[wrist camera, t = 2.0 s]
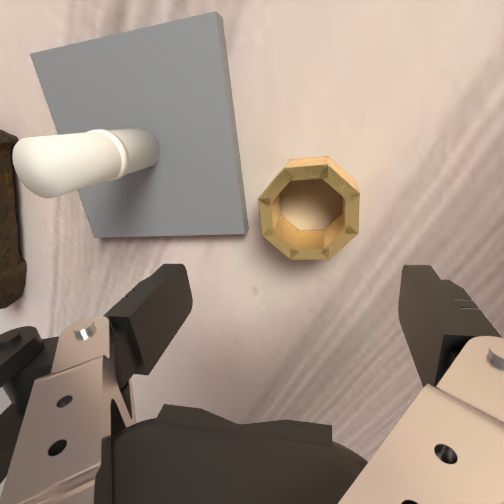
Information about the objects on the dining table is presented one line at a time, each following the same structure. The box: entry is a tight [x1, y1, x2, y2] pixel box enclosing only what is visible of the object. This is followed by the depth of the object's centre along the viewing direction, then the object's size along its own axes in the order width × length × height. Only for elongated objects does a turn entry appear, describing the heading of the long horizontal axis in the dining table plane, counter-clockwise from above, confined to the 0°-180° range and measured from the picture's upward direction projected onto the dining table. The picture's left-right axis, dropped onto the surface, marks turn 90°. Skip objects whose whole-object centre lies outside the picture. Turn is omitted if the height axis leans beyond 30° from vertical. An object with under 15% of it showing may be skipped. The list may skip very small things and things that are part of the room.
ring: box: [258, 156, 360, 260], centre depth 21 cm, size 6×6×4 cm
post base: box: [12, 12, 249, 238], centre depth 19 cm, size 14×14×10 cm
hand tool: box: [0, 130, 26, 309], centre depth 28 cm, size 19×4×5 cm, turn 160°
